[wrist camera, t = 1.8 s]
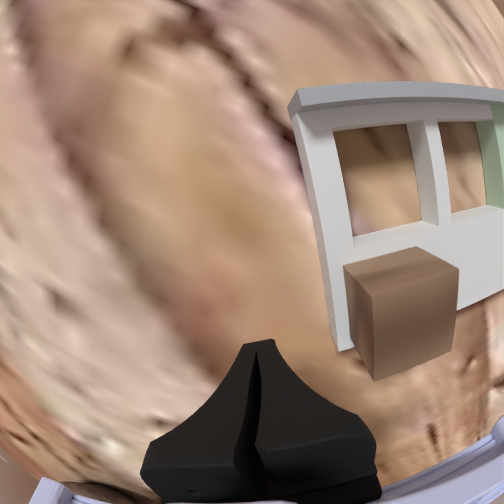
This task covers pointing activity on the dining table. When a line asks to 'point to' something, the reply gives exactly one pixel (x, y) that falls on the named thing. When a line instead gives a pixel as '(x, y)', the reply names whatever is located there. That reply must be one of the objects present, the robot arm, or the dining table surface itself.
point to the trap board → (427, 174)
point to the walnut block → (401, 309)
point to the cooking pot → (99, 493)
